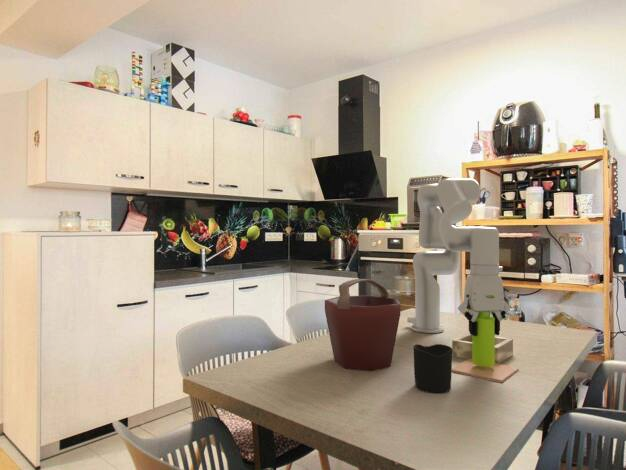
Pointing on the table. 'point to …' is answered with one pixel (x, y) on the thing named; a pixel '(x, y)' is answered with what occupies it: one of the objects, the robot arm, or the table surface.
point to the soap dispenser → (484, 340)
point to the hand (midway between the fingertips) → (484, 333)
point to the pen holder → (433, 368)
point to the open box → (464, 348)
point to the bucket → (362, 327)
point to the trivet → (485, 371)
